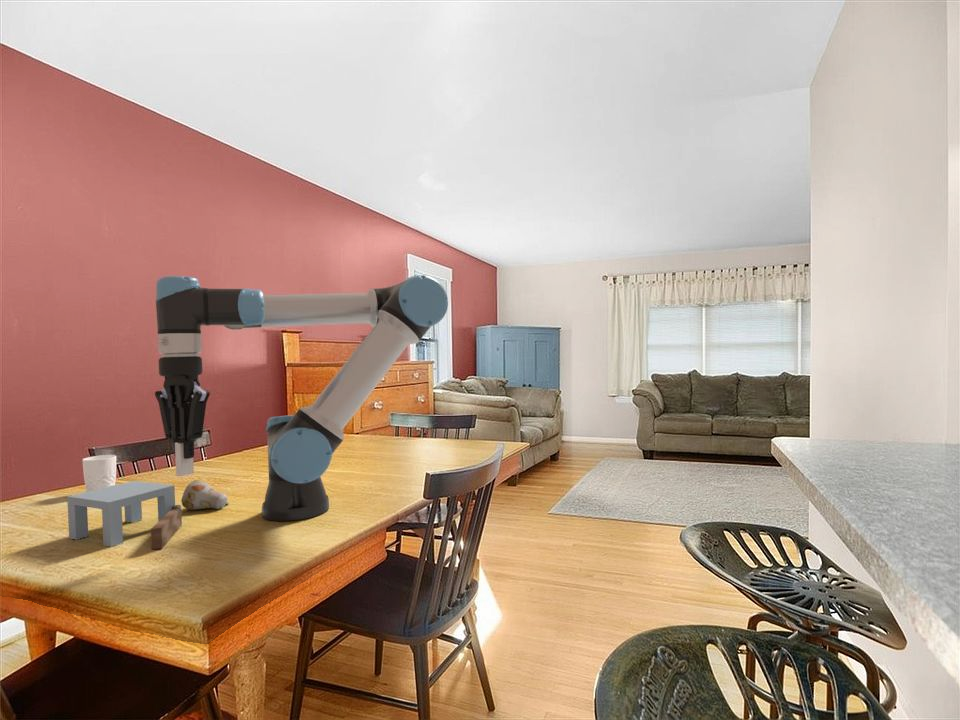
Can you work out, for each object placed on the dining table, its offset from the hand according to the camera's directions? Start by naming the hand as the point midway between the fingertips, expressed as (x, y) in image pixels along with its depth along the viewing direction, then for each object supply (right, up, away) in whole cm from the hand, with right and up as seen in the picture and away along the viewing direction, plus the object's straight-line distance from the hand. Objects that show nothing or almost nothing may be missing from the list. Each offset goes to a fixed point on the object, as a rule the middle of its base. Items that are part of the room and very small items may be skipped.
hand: (185, 474), depth 106 cm
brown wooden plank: (-7, -14, +6) cm, 17 cm away
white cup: (-49, -15, +45) cm, 68 cm away
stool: (-19, -15, +10) cm, 26 cm away
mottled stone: (-9, -14, +26) cm, 31 cm away
